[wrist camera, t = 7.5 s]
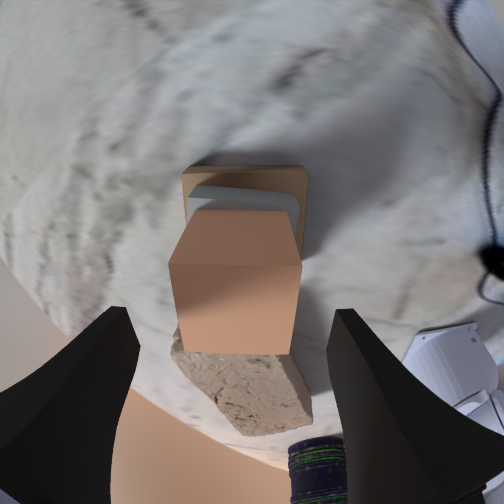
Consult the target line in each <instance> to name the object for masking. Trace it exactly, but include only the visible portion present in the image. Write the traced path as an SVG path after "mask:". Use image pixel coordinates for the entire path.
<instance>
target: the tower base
mask: <svg viewBox="0 0 504 504" xmlns="http://www.w3.org/2000/svg"><path fill="white" fill-rule="evenodd" d="M181 176H182V187H183V198H184V209H185V218H186V226H187V202H188V196H189V195H190V193H191V192H192V190H193V189H194V188H195V186H196V185H202V186H216V187H229V188H241V189H252V190H263V191H272V192H281V193H290V194H295V197H296V199H297V201H298V204H299V206H300V211H299V217H298V222H297V228H296V234H295V241H296V245H297V249H298V252H299V256H300V259H302V249H303V238H304V227H305V215H306V201H307V187H308V172H307V171H306V170H305V168H304V167H303V166H292V165H211V166H189V167H188V168H187V169H186V170H185V171H184V172H183V173H182V174H181Z"/></svg>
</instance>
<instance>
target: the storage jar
mask: <svg viewBox="0 0 504 504" xmlns="http://www.w3.org/2000/svg"><path fill="white" fill-rule="evenodd" d="M343 445H344V442H343V439H341V438H339V437H318V438H312V439H307V440H303V441H300V442H297V443H295V444H293V445H291V446H290V447H289V448H288V454H289V458H288V460H289V461H288V468H289V476H290V478H291V488H292V496H291V500H290V502H291V504H347V503H348V489H347V464H346V452H345V448H344V447H343Z"/></svg>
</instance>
